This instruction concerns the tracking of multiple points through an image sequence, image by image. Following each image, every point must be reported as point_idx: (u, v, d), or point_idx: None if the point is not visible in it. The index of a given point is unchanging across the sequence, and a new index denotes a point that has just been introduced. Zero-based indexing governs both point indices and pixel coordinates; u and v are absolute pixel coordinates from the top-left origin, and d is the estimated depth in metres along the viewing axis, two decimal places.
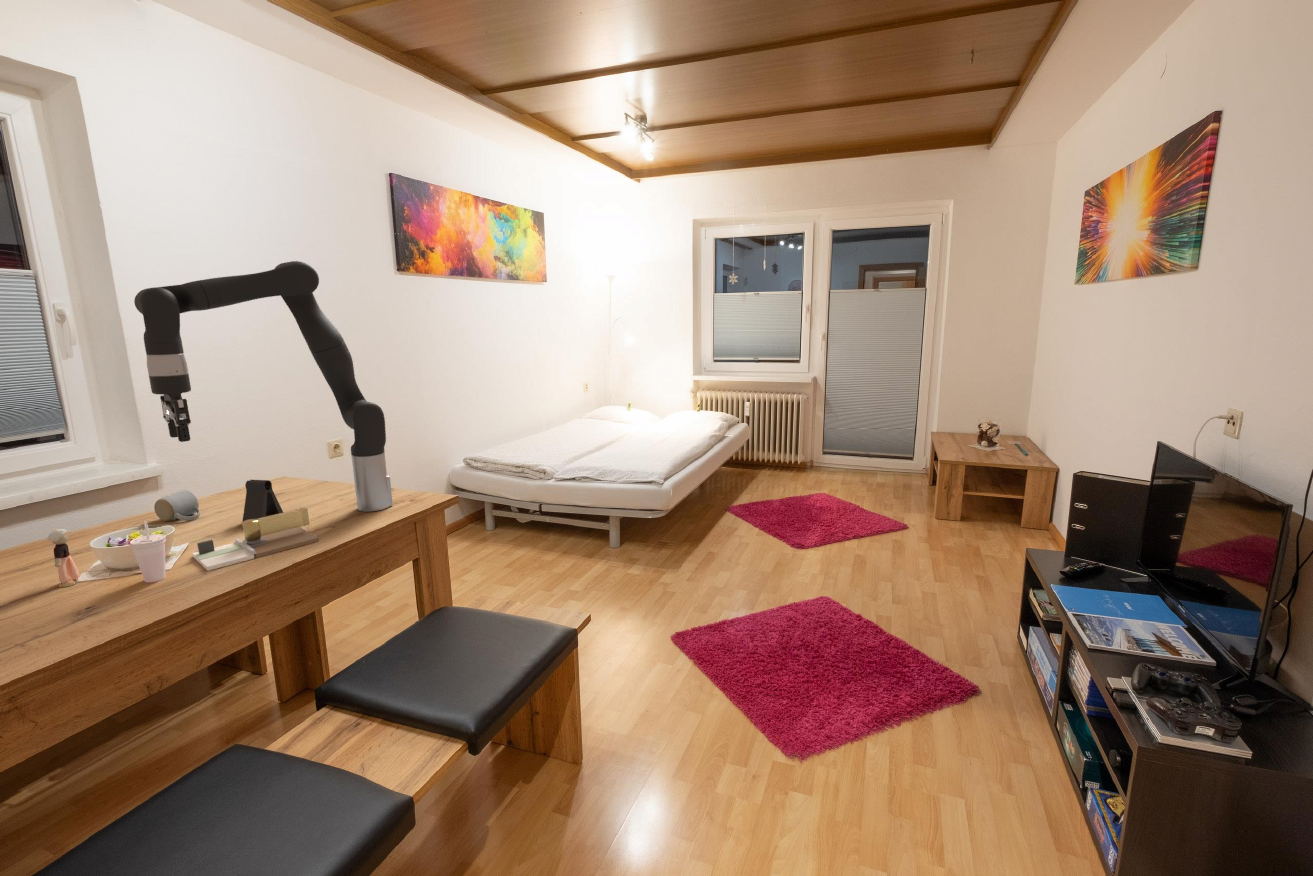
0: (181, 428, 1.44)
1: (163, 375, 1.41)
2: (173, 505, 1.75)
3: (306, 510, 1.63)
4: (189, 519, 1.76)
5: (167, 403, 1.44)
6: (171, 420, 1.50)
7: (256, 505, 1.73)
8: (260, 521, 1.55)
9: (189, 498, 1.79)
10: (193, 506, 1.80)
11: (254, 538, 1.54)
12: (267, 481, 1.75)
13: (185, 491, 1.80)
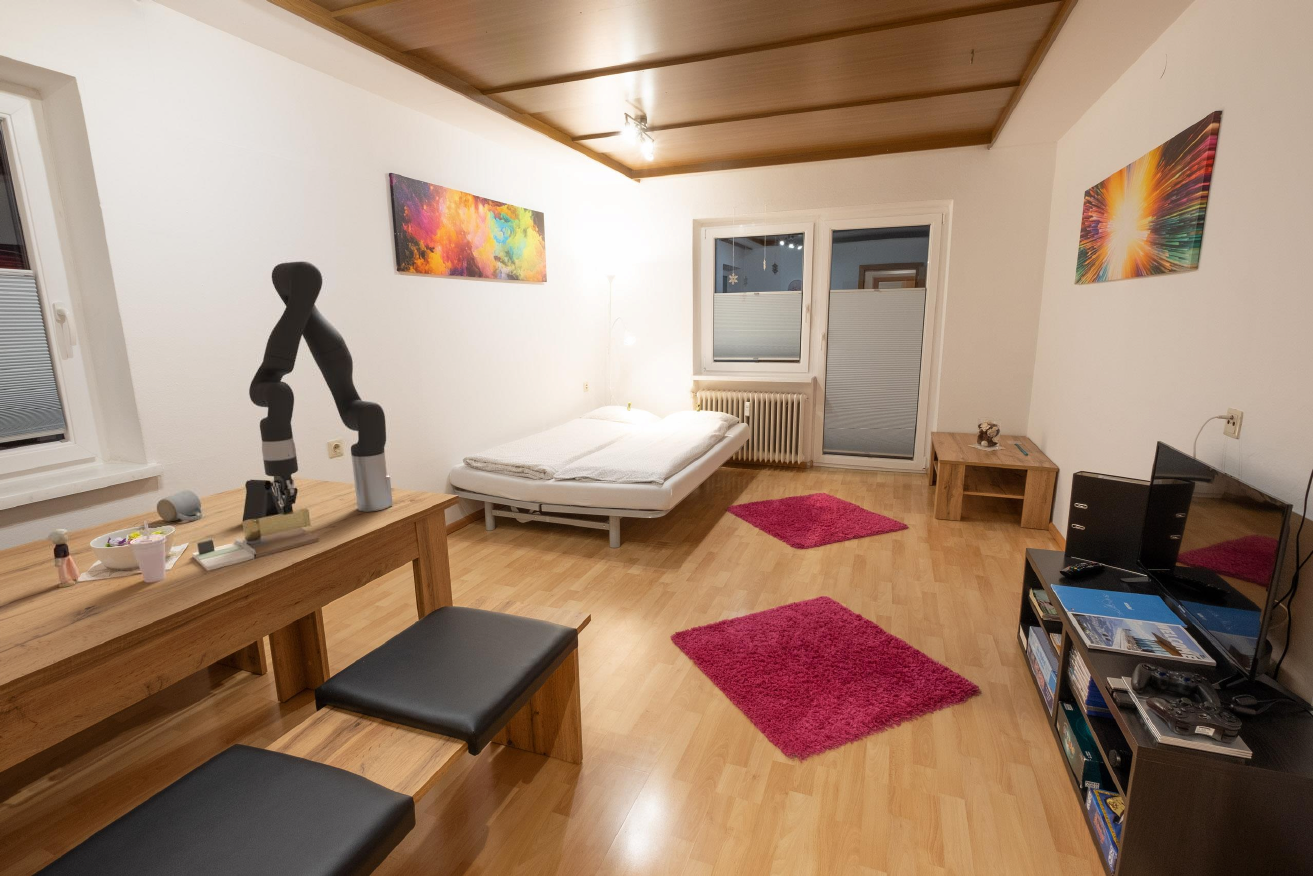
0: (287, 508, 1.61)
1: (277, 459, 1.56)
2: (175, 505, 1.74)
3: (307, 511, 1.62)
4: (192, 519, 1.76)
5: (279, 485, 1.58)
6: None
7: (256, 505, 1.73)
8: (259, 521, 1.55)
9: (192, 498, 1.79)
10: (195, 506, 1.80)
11: (253, 538, 1.54)
12: (267, 481, 1.75)
13: (187, 491, 1.80)
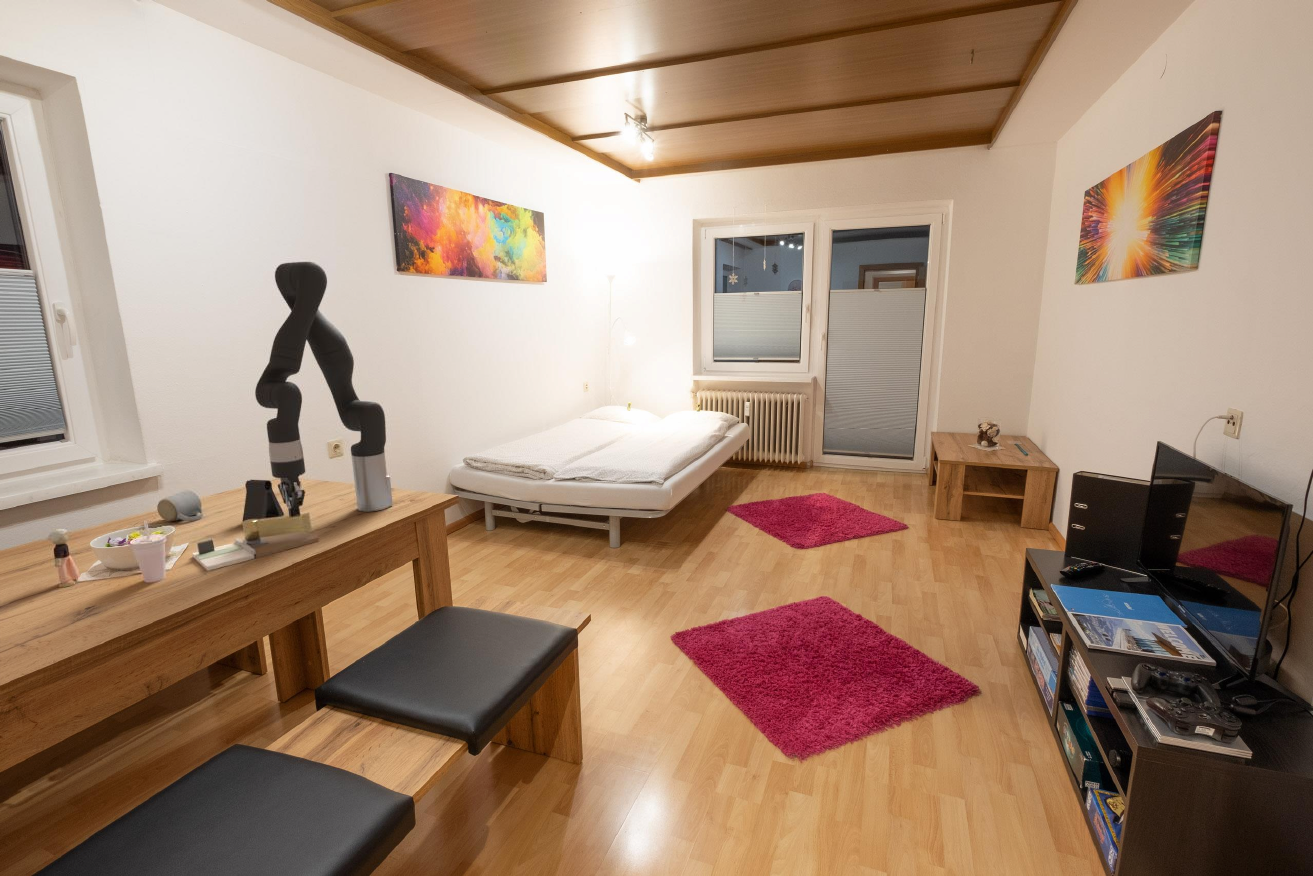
0: (294, 510, 1.59)
1: (284, 461, 1.54)
2: (176, 505, 1.74)
3: (307, 516, 1.58)
4: (192, 519, 1.76)
5: (286, 487, 1.57)
6: None
7: (256, 505, 1.73)
8: (258, 522, 1.54)
9: (192, 498, 1.79)
10: (196, 506, 1.79)
11: (250, 539, 1.53)
12: (267, 481, 1.75)
13: (188, 491, 1.80)
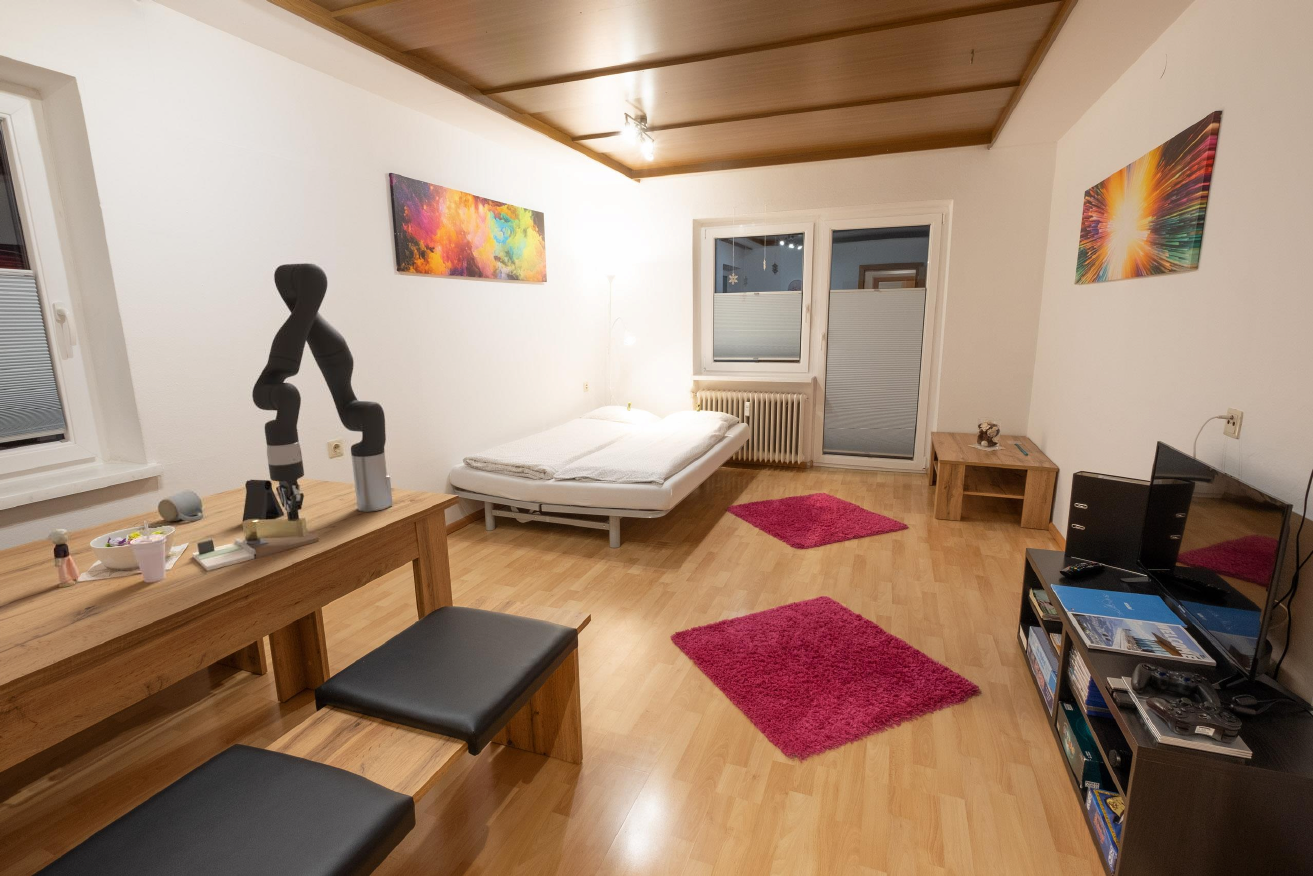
0: (293, 513, 1.56)
1: (282, 464, 1.51)
2: (177, 505, 1.74)
3: (300, 522, 1.54)
4: (193, 519, 1.76)
5: (284, 490, 1.53)
6: None
7: (256, 505, 1.73)
8: (256, 523, 1.53)
9: (193, 498, 1.79)
10: (197, 506, 1.79)
11: (248, 539, 1.53)
12: (267, 481, 1.75)
13: (189, 491, 1.80)
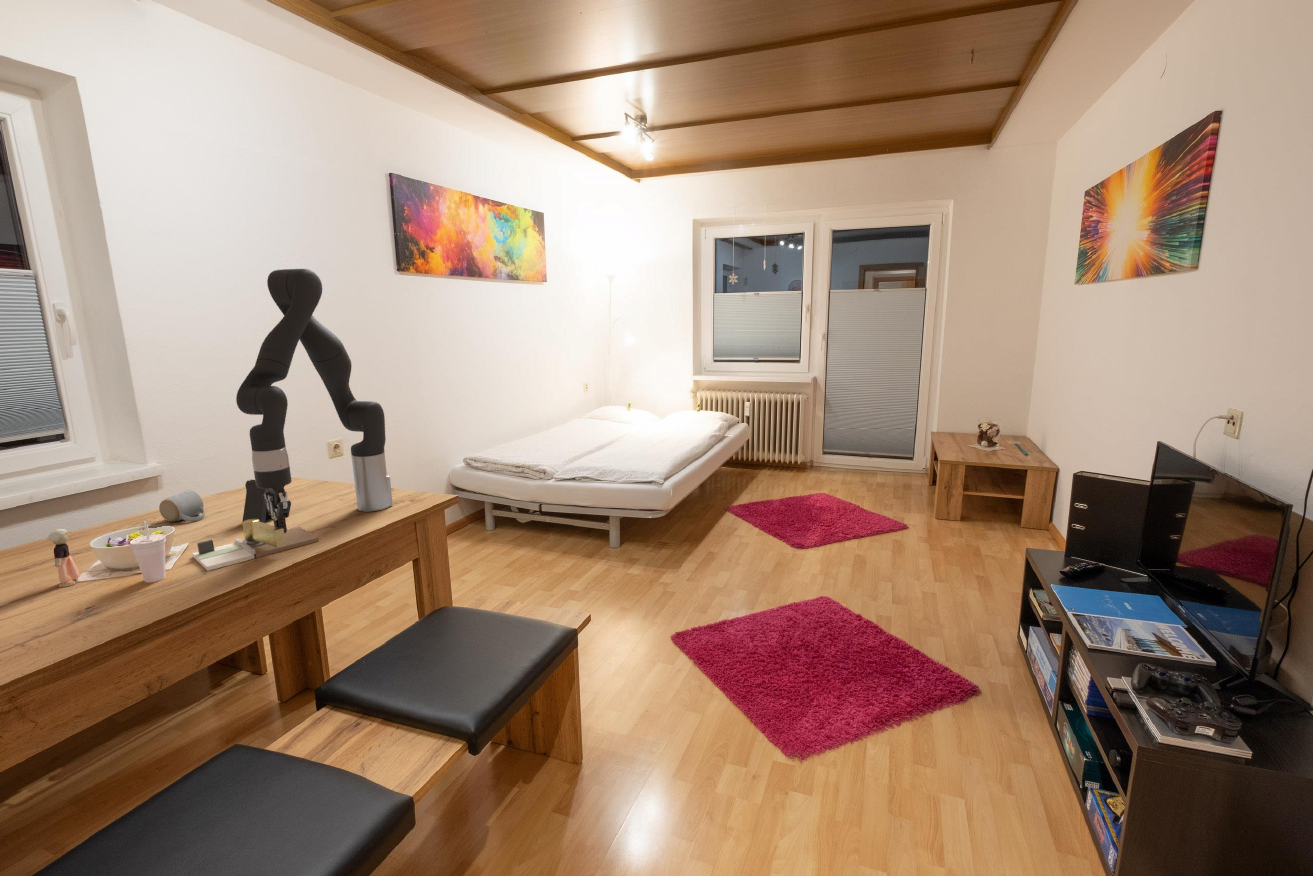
0: (280, 522, 1.50)
1: (268, 470, 1.45)
2: (178, 505, 1.74)
3: (274, 531, 1.47)
4: (194, 519, 1.76)
5: (271, 498, 1.47)
6: None
7: (256, 505, 1.73)
8: (250, 524, 1.53)
9: (194, 499, 1.79)
10: (198, 507, 1.79)
11: (245, 538, 1.54)
12: None
13: (190, 491, 1.80)
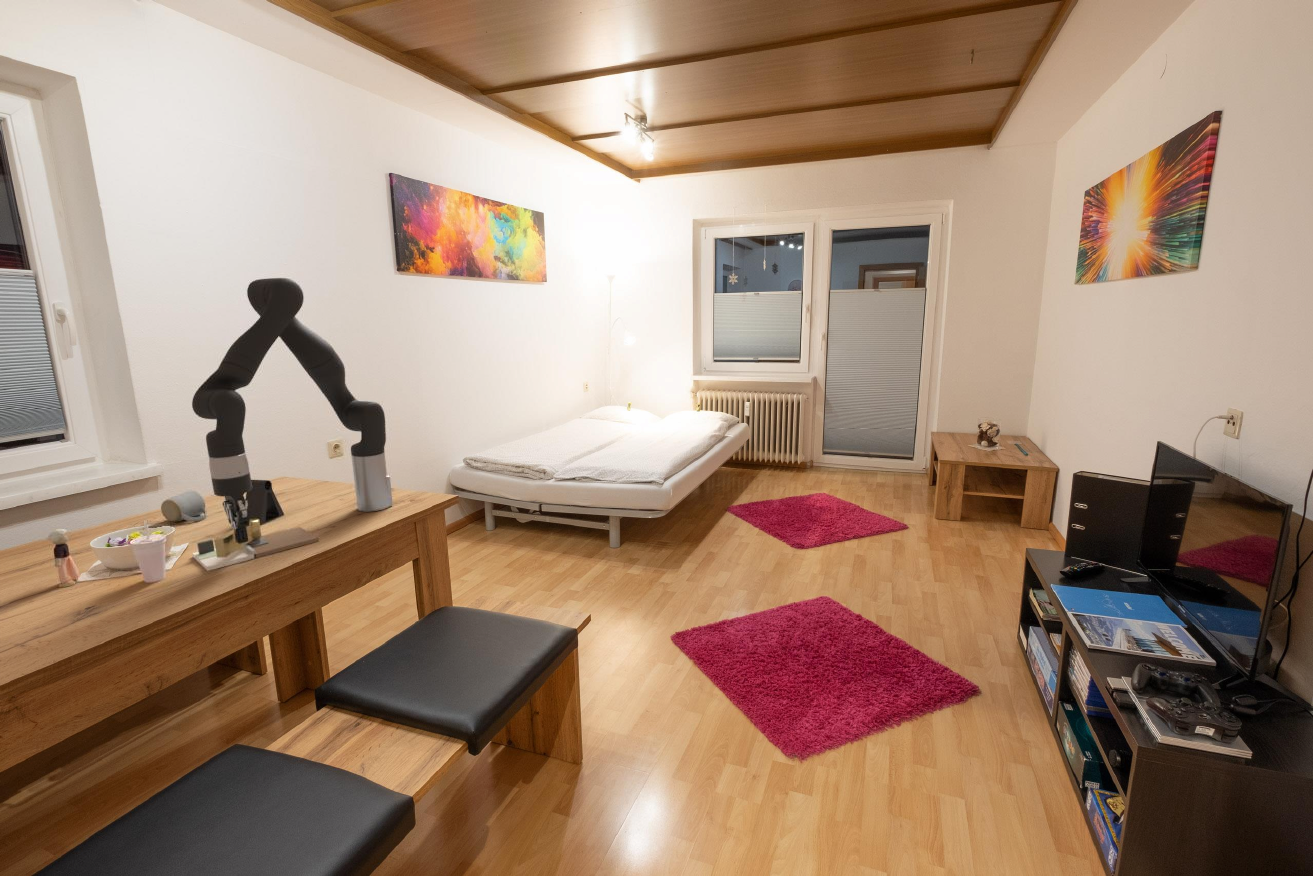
0: (240, 531, 1.44)
1: (226, 478, 1.39)
2: (180, 505, 1.74)
3: None
4: (196, 520, 1.76)
5: (230, 506, 1.41)
6: None
7: (256, 505, 1.73)
8: None
9: (196, 499, 1.78)
10: (200, 507, 1.79)
11: None
12: (267, 481, 1.75)
13: (192, 492, 1.79)
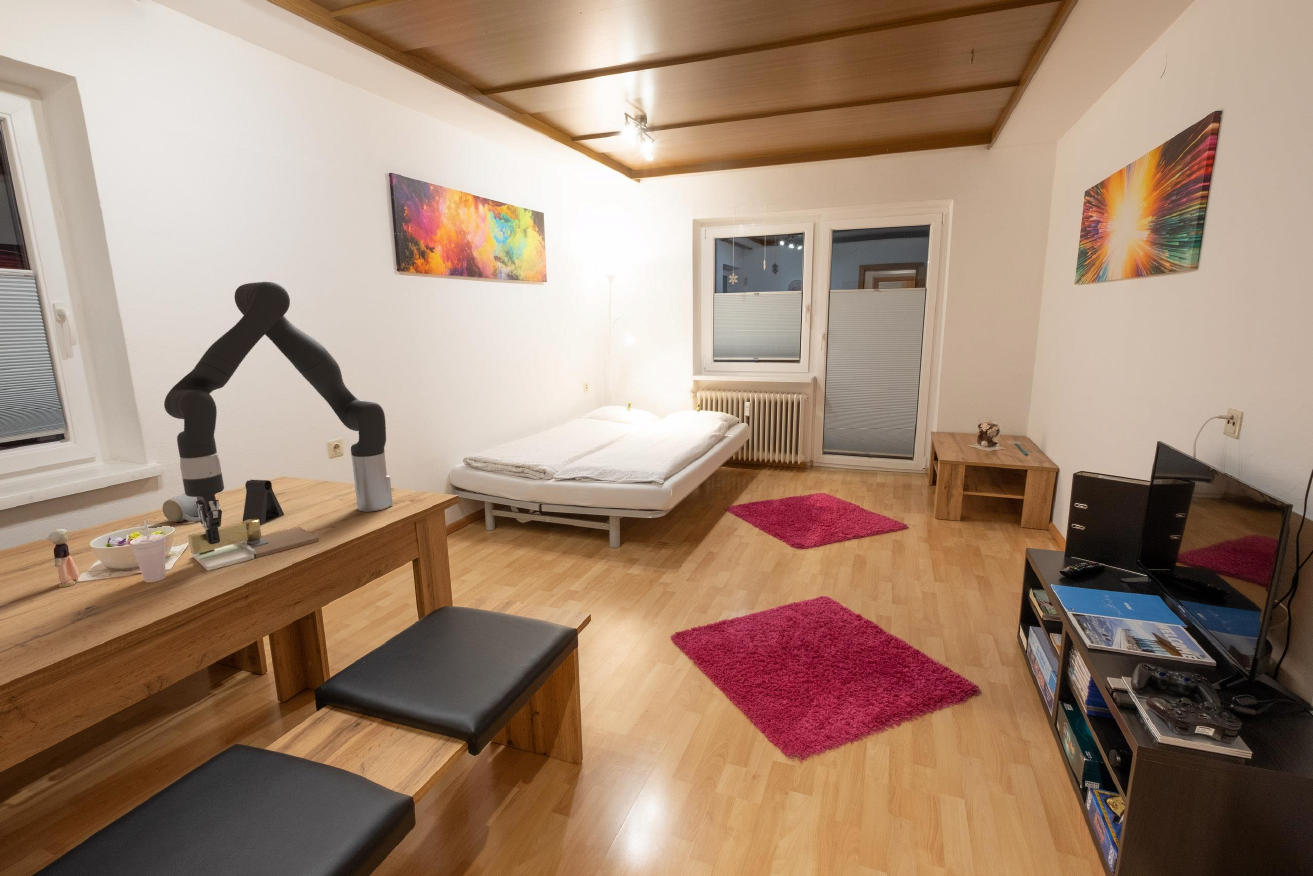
0: (212, 531, 1.44)
1: (197, 478, 1.39)
2: (181, 506, 1.74)
3: None
4: (198, 520, 1.75)
5: (201, 506, 1.41)
6: None
7: (256, 505, 1.73)
8: None
9: None
10: None
11: None
12: (267, 481, 1.75)
13: None
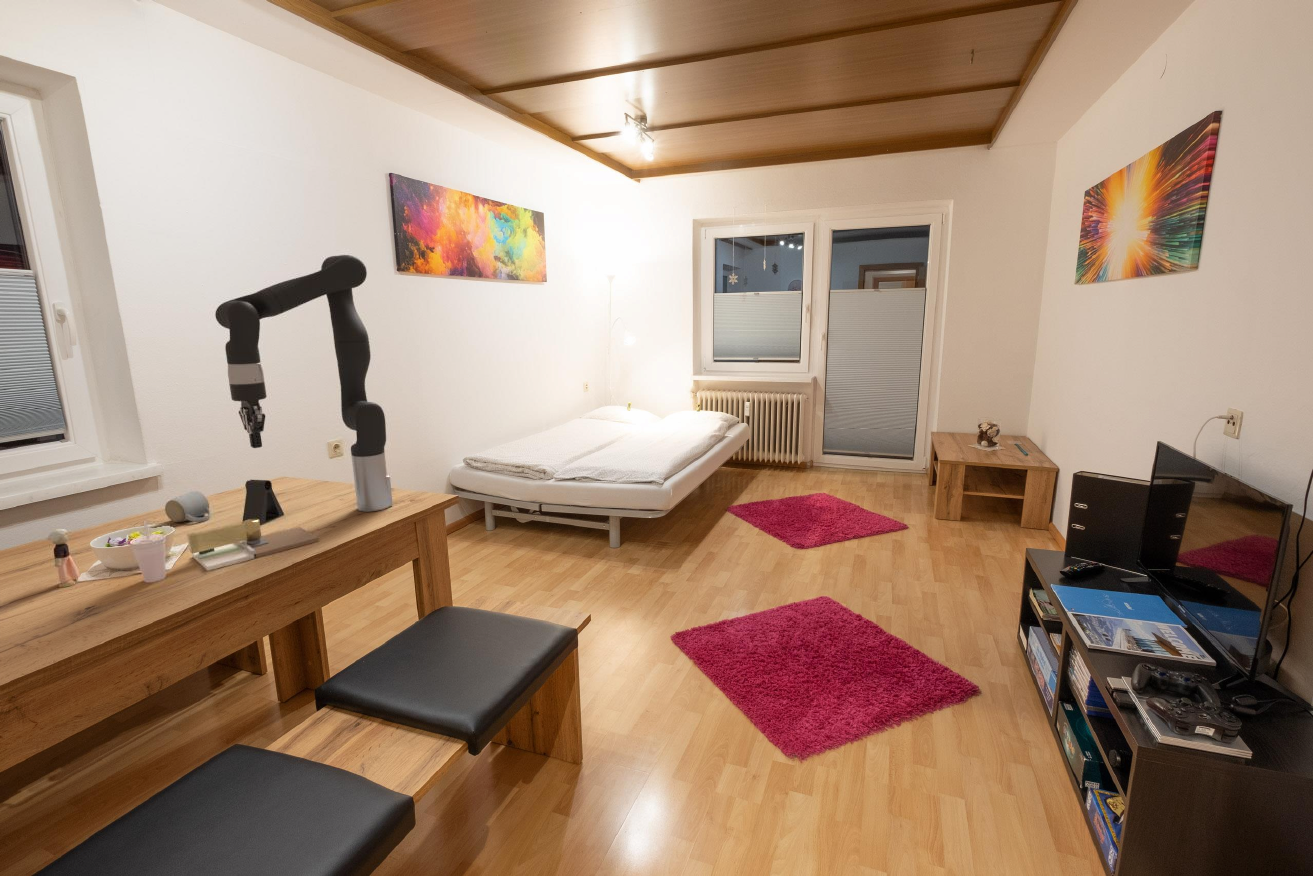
0: (255, 436, 1.56)
1: (243, 383, 1.51)
2: (184, 506, 1.74)
3: None
4: (200, 520, 1.75)
5: (246, 411, 1.53)
6: None
7: (256, 505, 1.73)
8: None
9: (200, 499, 1.78)
10: (204, 507, 1.79)
11: None
12: (267, 481, 1.75)
13: (196, 492, 1.79)
